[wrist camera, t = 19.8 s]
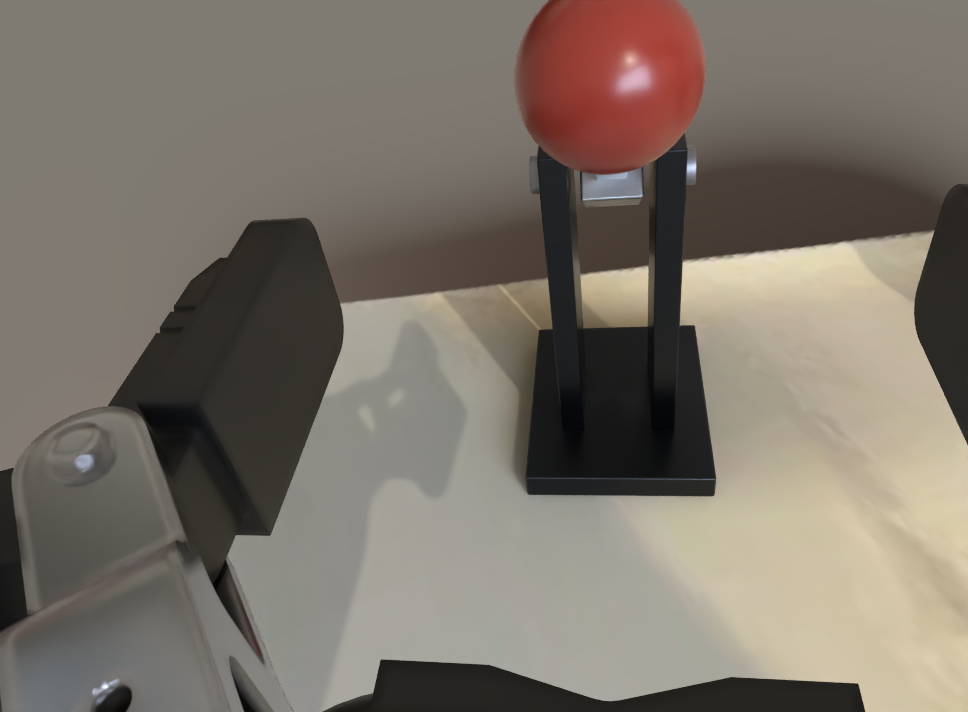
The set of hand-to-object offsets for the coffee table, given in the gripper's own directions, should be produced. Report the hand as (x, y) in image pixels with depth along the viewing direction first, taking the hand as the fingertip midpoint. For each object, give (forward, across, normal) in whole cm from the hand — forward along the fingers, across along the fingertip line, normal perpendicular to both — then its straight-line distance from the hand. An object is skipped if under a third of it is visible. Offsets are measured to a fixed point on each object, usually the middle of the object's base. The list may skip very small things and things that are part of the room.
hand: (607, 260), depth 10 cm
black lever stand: (+18, 0, +21) cm, 27 cm away
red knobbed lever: (+10, 0, +5) cm, 12 cm away
